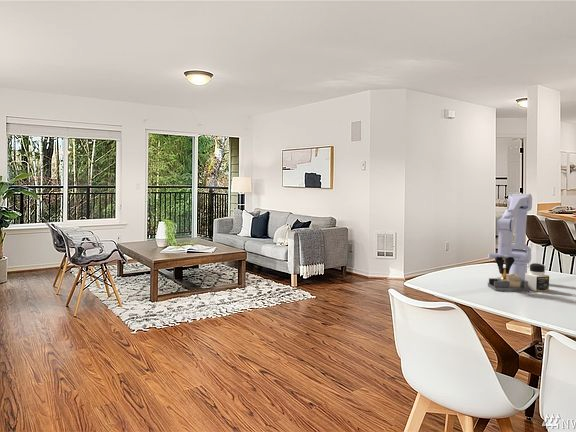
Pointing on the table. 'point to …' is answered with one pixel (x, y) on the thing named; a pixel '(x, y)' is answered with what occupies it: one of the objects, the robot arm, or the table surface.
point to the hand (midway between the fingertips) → (504, 273)
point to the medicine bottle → (537, 278)
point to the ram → (503, 276)
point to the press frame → (507, 285)
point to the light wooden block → (513, 280)
